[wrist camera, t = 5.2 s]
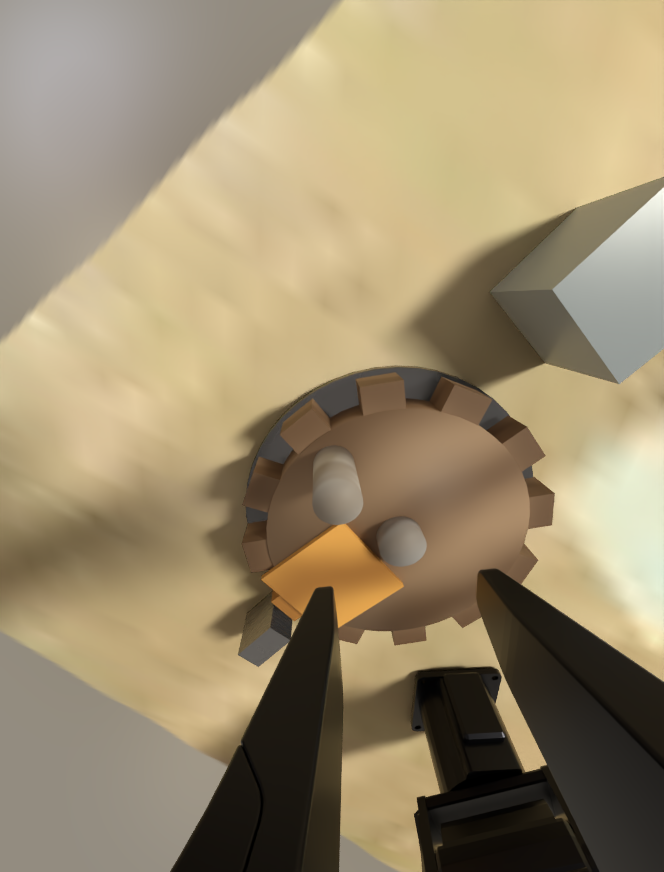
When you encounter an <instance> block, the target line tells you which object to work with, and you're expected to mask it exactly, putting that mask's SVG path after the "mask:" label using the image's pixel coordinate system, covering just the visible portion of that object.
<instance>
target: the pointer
mask: <svg viewBox="0 0 664 872" xmlns="http://www.w3.org/2000/svg"><path fill="white" fill-rule="evenodd" d="M272 592H273V591H272ZM272 592H271V593H270V594H269V595H268V596H267V597H266V598H264V599H263V600H262V601H261V602H260V603H259V604H258V605H256V606H255V607H254V608H253V609H252V610H251V611H250V612H248V613H247V616H246V621H245V625H244V630H243V634H242V639H241V643H240V648H239V652H238V655H239V656H241V657H242V658H244V659H246V660H247V661H249V662H251V663H253V664H254V665H256V666H258V667H259V666H260V665H261V664H262V663H264V662H265V661H266V660H267V659H269V658H270V657H271V656H272V655H274V654H275V653H276V652H277V651H279V650H280V649H281V648H282V647H283V646H285V645H286V644H287V643H288V642H289V641H290V639H291V630H292V619H291V618H290V617H289V616H287V615H286V614H285V613H284V612H283V611H281V610H280V609H279V608H278V607H277V606H275V605H274V604H273V603H272V602H271V599H272Z"/></svg>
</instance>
